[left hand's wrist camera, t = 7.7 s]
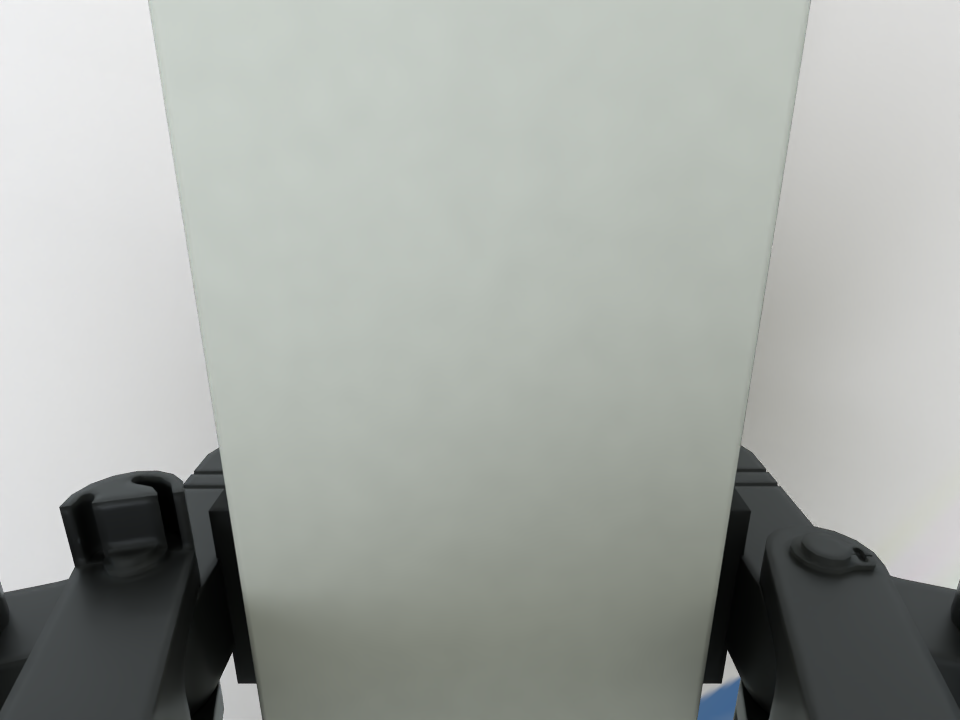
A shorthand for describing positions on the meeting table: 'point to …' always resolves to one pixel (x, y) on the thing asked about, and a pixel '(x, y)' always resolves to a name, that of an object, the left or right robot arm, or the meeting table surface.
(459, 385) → the bar
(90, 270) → the meeting table surface
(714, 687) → the meeting table surface
